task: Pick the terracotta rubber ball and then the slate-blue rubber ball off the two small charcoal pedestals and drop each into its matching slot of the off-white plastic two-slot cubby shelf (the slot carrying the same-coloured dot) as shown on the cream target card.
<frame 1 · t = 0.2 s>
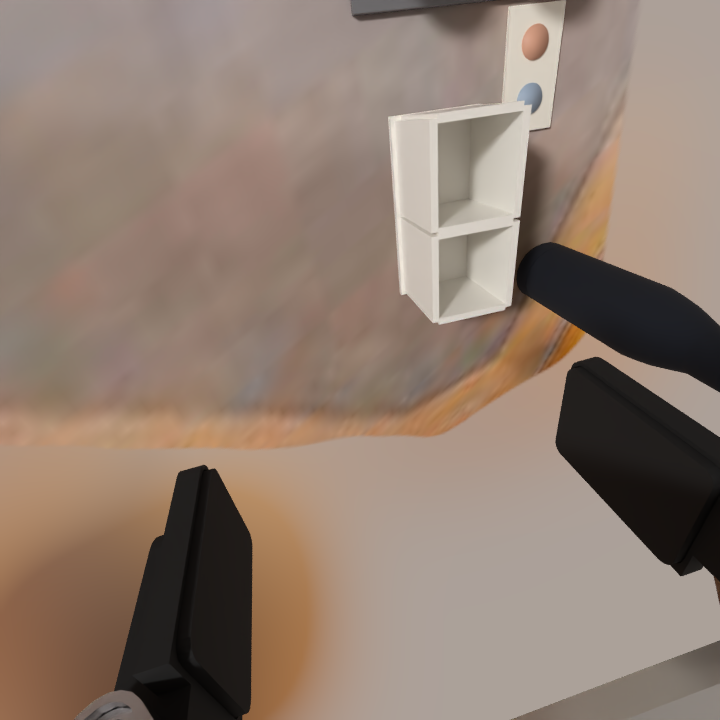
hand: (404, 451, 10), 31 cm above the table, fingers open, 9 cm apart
two-slot cubby shelf: (435, 207, 38), on the table
target card: (529, 72, 34), on the table
wine bottle: (540, 269, 45), on the table
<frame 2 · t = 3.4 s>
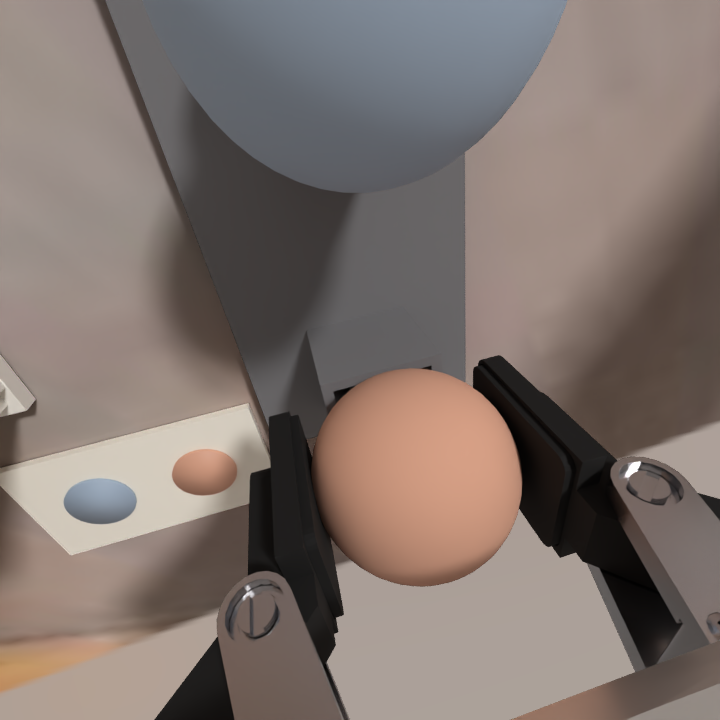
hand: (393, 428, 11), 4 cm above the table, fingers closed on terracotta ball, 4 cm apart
terracotta ball: (384, 407, 12), point 3 cm above the table, touching ball stand, gripper
ball stand: (337, 231, 12), on the table
target card: (156, 480, 15), on the table
slate ball: (324, 16, 7), point 3 cm above the table, touching ball stand
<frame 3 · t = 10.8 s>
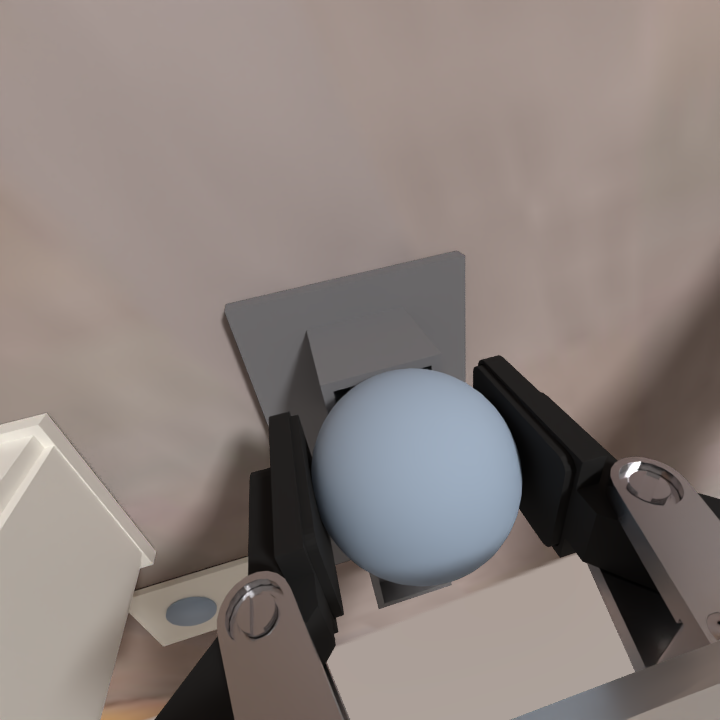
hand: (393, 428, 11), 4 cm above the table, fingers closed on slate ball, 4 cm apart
ball stand: (374, 437, 17), on the table
target card: (231, 592, 20), on the table
slate ball: (384, 407, 12), point 3 cm above the table, touching ball stand, gripper
when the fingers open (11 cm above the table, at t = 14.5 s): slate ball drops 10 cm, resting on two-slot cubby shelf.
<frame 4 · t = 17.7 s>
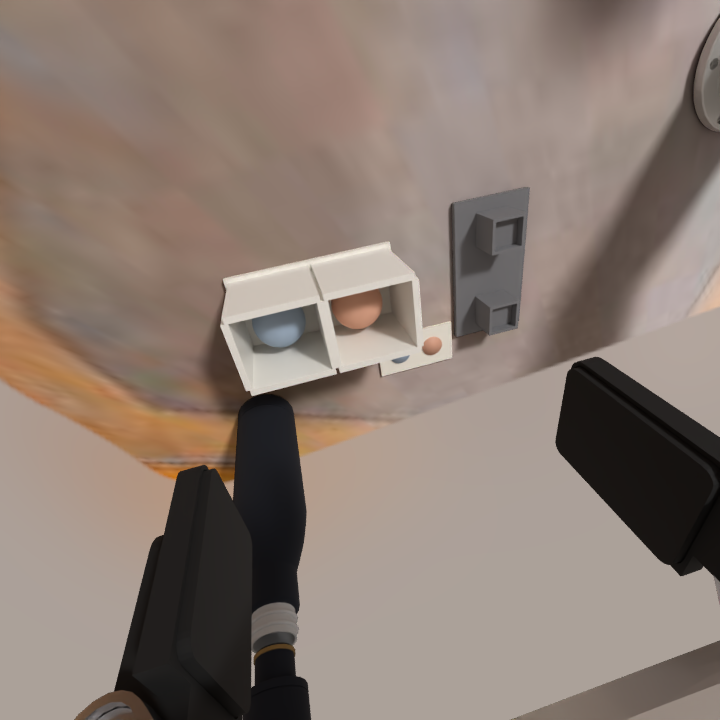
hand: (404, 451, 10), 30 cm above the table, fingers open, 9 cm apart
terracotta ball: (355, 292, 40), point 1 cm above the table, tilted 11°, touching two-slot cubby shelf
ball stand: (487, 267, 42), on the table
two-slot cubby shelf: (316, 298, 40), on the table
target card: (415, 348, 46), on the table
slate ball: (279, 310, 39), point 1 cm above the table, touching two-slot cubby shelf
wine bottle: (266, 414, 46), on the table
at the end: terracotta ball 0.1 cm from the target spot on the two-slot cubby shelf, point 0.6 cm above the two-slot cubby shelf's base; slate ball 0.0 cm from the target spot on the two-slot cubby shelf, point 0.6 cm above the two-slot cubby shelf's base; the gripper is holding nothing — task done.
